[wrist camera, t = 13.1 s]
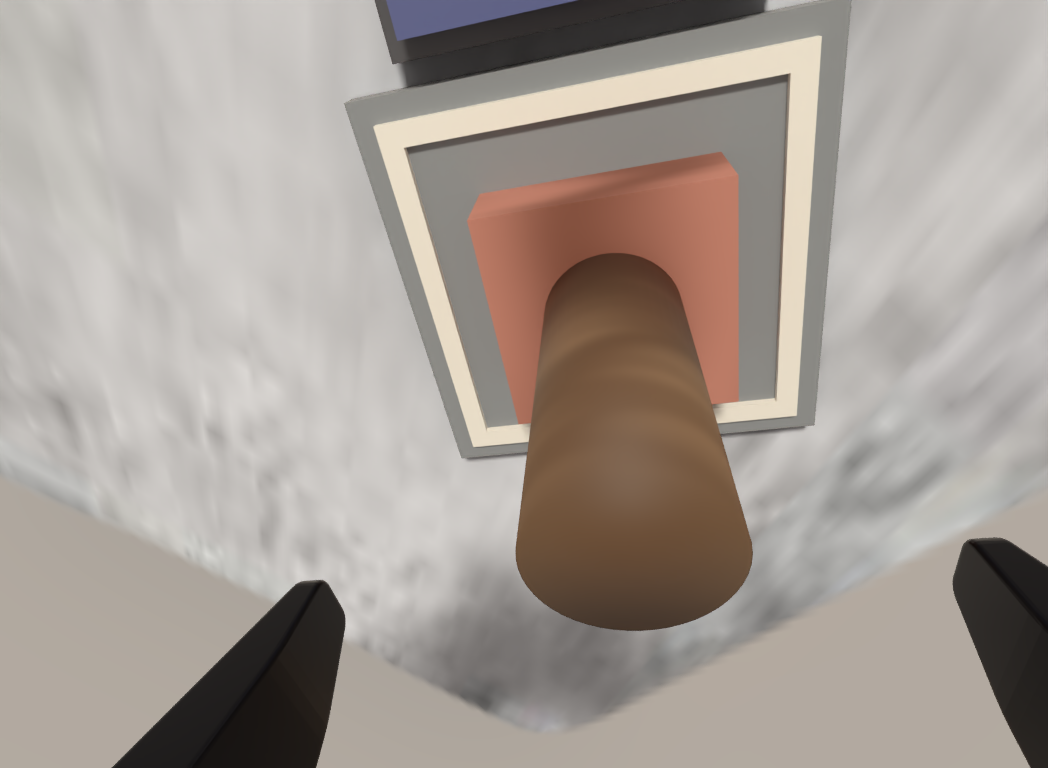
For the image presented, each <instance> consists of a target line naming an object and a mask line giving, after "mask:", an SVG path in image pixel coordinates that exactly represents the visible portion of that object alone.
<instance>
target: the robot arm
mask: <svg viewBox="0 0 1048 768" xmlns="http://www.w3.org/2000/svg"><path fill="white" fill-rule="evenodd" d="M953 591H954V594H955V598H956V601H957V603H958V605H959V608H960V610H961V613H962V615H963V618H964V620H965V623H966V625H967V628H968V630H969V633H970V635H971V638H972V640H973V643H974V645H975V648H976V650H977V652H978V655H979V658H980V660H981V662H982V665H983V667H984V670H985V672H986V675H987V677H988V680H989V682H990V685H991V687H992V690H993V692H994V695H995V697H996V699H997V702H998V704H999V706H1000V708H1001V711H1002V713H1003V715H1004V717H1005V719H1006V721H1007V723H1008V725H1009V727H1010V729H1011V731H1012V733H1013V735H1014V737H1015V739H1016V741H1017V743H1018V744H1019V746H1020V748H1021V750H1022V752H1023V754H1024V756H1025V758H1026V760H1027V762H1028V764H1029V765H1030V767H1031V768H1048V566H1046V565H1045V564H1043V563H1042V562H1040V561H1039V560H1037V559H1036V558H1034V557H1033V556H1031V555H1030V554H1028V553H1027V552H1025V551H1023V550H1022V549H1020V548H1019V547H1018V546H1016V545H1014V544H1013V543H1011V542H1010V541H1008V540H1005V539H1003V538H995V537H994V538H979V539H969V540H967V541H966V542H965V543H964V544H963V546H962V550H961V553H960V556H959V560H958V563H957V566H956V570H955V573H954V576H953ZM344 631H345V614H344V611H343V609H342V607H341V605H340V603H339V602H338V600H337V598H336V596H335V595H334V593H333V591H332V590H331V588H330V586H329V585H328V583H327V582H325V581H323V580H312V581H302V582H299V583H297V584H296V585H295V586H294V587H292V588H291V589H290V590H289V591H288V592H287V593H286V594H285V595H284V596H283V597H282V598H281V599H280V600H279V601H278V602H277V603H276V604H275V605H274V606H273V607H272V608H271V609H270V610H269V611H268V612H267V613H266V614H265V615H264V617H262V618H261V619H260V620H259V621H258V622H257V623H256V624H255V626H253V627H252V628H251V629H250V630H249V631H248V632H247V633H246V634H245V635H244V636H243V637H242V638H241V639H240V640H239V641H238V642H237V643H236V644H235V645H234V646H233V647H232V648H231V649H230V650H229V651H228V652H227V653H226V654H225V655H224V657H222V658H221V659H220V660H219V661H218V663H216V664H215V665H214V666H213V667H212V668H211V669H210V670H209V671H208V672H207V673H206V674H205V675H204V676H203V677H202V678H201V679H200V680H199V681H198V682H197V683H196V684H195V685H194V686H193V687H192V688H191V689H190V690H189V691H188V692H187V693H186V694H185V695H184V696H183V697H182V698H181V699H180V700H179V701H178V702H177V703H176V704H175V705H174V706H173V707H172V708H171V709H170V710H169V711H168V712H167V713H166V714H165V715H164V716H163V717H162V718H161V719H160V720H159V721H158V722H157V723H156V724H155V725H154V726H153V727H152V728H151V729H150V730H149V731H148V732H147V733H146V734H145V735H144V736H143V737H142V738H141V739H140V740H139V741H138V742H137V743H136V744H135V745H134V746H133V747H132V748H131V749H130V750H129V751H128V752H127V753H126V754H125V755H124V756H123V757H122V758H121V759H120V760H119V761H118V762H117V763H116V764H115V765H114V766H113V767H112V768H316V766H317V762H318V759H319V755H320V751H321V748H322V744H323V740H324V736H325V732H326V729H327V724H328V720H329V715H330V710H331V705H332V699H333V693H334V687H335V682H336V676H337V670H338V665H339V659H340V654H341V648H342V642H343V637H344Z"/></svg>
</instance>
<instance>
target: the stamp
mask: <svg viewBox="0 0 1048 768" xmlns="http://www.w3.org/2000/svg"><path fill="white" fill-rule="evenodd" d="M467 223H468V227H469V231H470V234H471V238H472V242H473V246H474V250H475V254H476V258H477V262H478V266H479V270H480V274H481V278H482V282H483V286H484V290H485V294H486V298H487V301H488V305H489V309H490V313H491V317H492V321H493V325H494V329H495V333H496V337H497V341H498V345H499V349H500V353H501V357H502V361H503V365H504V368H505V372H506V376H507V380H508V384H509V388H510V392H511V396H512V400H513V404H514V408H515V412H516V416H517V420H518V424H528V423H531V426H530V435H529V443H528V451H527V459H526V468H525V476H524V484H523V492H522V501H521V509H520V517H519V525H518V533H517V542H516V562H517V567H518V570H519V572H520V575H521V577H522V579H523V581H524V582H525V584H526V585H527V587H528V588H529V589H530V590H531V592H532V593H533V594H534V595H535V596H536V597H537V598H538V599H539V600H541V601H542V602H543V603H544V604H546V605H547V606H548V607H550V608H551V609H553V610H555V611H556V612H558V613H560V614H562V615H564V616H566V617H568V618H571V619H573V620H576V621H579V622H582V623H585V624H588V625H592V626H596V627H600V628H607V629H613V630H626V631H643V630H655V629H662V628H668V627H672V626H677V625H681V624H684V623H687V622H690V621H693V620H696V619H698V618H700V617H702V616H705V615H707V614H709V613H710V612H712V611H714V610H716V609H717V608H719V607H720V606H721V605H723V604H724V603H725V602H727V601H728V600H729V599H730V598H731V597H732V596H733V595H734V594H735V593H736V592H737V591H738V590H739V588H740V587H741V586H742V585H743V583H744V581H745V579H746V578H747V576H748V574H749V570H750V567H751V564H752V556H753V551H752V542H751V539H750V535H749V532H748V528H747V525H746V521H745V518H744V514H743V511H742V508H741V504H740V501H739V497H738V494H737V490H736V487H735V483H734V480H733V476H732V473H731V469H730V466H729V462H728V459H727V455H726V452H725V449H724V445H723V442H722V438H721V435H720V431H719V428H718V424H717V421H716V417H715V414H714V410H713V407H712V404H721V403H730V402H739V213H738V174H737V172H736V171H735V170H734V168H733V167H732V166H731V164H730V163H729V162H728V160H727V159H726V157H725V156H724V155H723V153H722V152H716V153H711V154H705V155H699V156H693V157H688V158H682V159H676V160H671V161H665V162H659V163H654V164H648V165H642V166H636V167H631V168H625V169H619V170H614V171H608V172H602V173H597V174H591V175H585V176H579V177H574V178H568V179H562V180H557V181H551V182H545V183H539V184H534V185H528V186H522V187H517V188H511V189H505V190H500V191H494V192H488V193H482V194H479V196H478V198H477V201H476V203H475V205H474V207H473V209H472V211H471V213H470V215H469V217H468V220H467Z"/></svg>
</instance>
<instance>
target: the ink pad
mask: <svg viewBox="0 0 1048 768" xmlns="http://www.w3.org/2000/svg"><path fill="white" fill-rule="evenodd" d="M679 1H683V0H375V3H376V7H377V10H378V14H379V18H380V21H381V25H382V28H383V32H384V35H385V39H386V42H387V46H388V50H389V53H390V57H391V60H392V64H397V63H401V62H406V61H410V60H415V59H419V58H424V57H428V56H433V55H438V54H442V53H447V52H451V51H456V50H460V49H465V48H469V47H474V46H478V45H483V44H488V43H492V42H497V41H501V40H506V39H510V38H515V37H519V36H524V35H529V34H533V33H538V32H542V31H547V30H551V29H556V28H560V27H565V26H569V25H574V24H579V23H583V22H588V21H592V20H597V19H601V18H606V17H610V16H615V15H620V14H624V13H629V12H633V11H638V10H642V9H647V8H651V7H656V6H661V5H665V4H670V3H674V2H679Z"/></svg>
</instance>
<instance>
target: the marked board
mask: <svg viewBox="0 0 1048 768" xmlns="http://www.w3.org/2000/svg"><path fill="white" fill-rule="evenodd" d="M850 11H851V0H819V1H814V2H809V3H804V4H800V5H795V6H790V7H785V8H781V9H776V10H771V11H767V12H762V13H757V14H752V15H748V16H743V17H738V18H733V19H729V20H724V21H719V22H715V23H710V24H705V25H700V26H696V27H691V28H686V29H681V30H677V31H672V32H667V33H662V34H658V35H653V36H648V37H644V38H639V39H634V40H629V41H625V42H620V43H615V44H610V45H606V46H601V47H596V48H592V49H587V50H582V51H577V52H573V53H568V54H563V55H558V56H554V57H549V58H544V59H540V60H535V61H530V62H525V63H521V64H516V65H511V66H506V67H502V68H497V69H492V70H488V71H483V72H478V73H473V74H469V75H464V76H459V77H454V78H450V79H445V80H440V81H436V82H431V83H426V84H421V85H417V86H412V87H407V88H402V89H398V90H393V91H388V92H384V93H379V94H374V95H369V96H365V97H360V98H355V99H351V100H350V101H348V102H346V103H344V105H345V108H346V111H347V114H348V117H349V120H350V123H351V126H352V129H353V132H354V135H355V138H356V141H357V144H358V147H359V150H360V153H361V156H362V159H363V162H364V165H365V168H366V171H367V174H368V177H369V180H370V183H371V186H372V189H373V192H374V195H375V198H376V201H377V204H378V207H379V210H380V213H381V216H382V219H383V222H384V225H385V228H386V231H387V234H388V237H389V240H390V243H391V247H392V250H393V253H394V256H395V259H396V262H397V265H398V268H399V271H400V274H401V277H402V280H403V283H404V286H405V289H406V292H407V295H408V298H409V301H410V304H411V307H412V310H413V313H414V316H415V319H416V322H417V325H418V328H419V331H420V334H421V337H422V340H423V343H424V346H425V349H426V352H427V355H428V358H429V361H430V364H431V367H432V370H433V373H434V376H435V379H436V382H437V385H438V388H439V391H440V394H441V398H442V401H443V404H444V407H445V410H446V413H447V416H448V419H449V422H450V425H451V428H452V431H453V434H454V437H455V440H456V443H457V446H458V449H459V452H460V455H461V458H471V457H481V456H492V455H503V454H513V453H524V452H527V451H528V443H529V435H530V426H531V423H528V424H518V420H517V416H516V412H515V408H514V404H513V400H512V396H511V392H510V388H509V384H508V380H507V376H506V372H505V368H504V365H503V361H502V357H501V353H500V349H499V345H498V341H497V337H496V333H495V329H494V325H493V321H492V317H491V313H490V309H489V305H488V301H487V298H486V294H485V290H484V286H483V282H482V278H481V274H480V270H479V266H478V262H477V258H476V254H475V250H474V246H473V242H472V238H471V234H470V231H469V227H468V223H467V220H468V217H469V215H470V213H471V211H472V209H473V207H474V205H475V203H476V201H477V198H478V196H479V194H482V193H488V192H494V191H500V190H505V189H511V188H517V187H522V186H528V185H534V184H539V183H545V182H551V181H557V180H562V179H568V178H574V177H579V176H585V175H591V174H597V173H602V172H608V171H614V170H619V169H625V168H631V167H636V166H642V165H648V164H654V163H659V162H665V161H671V160H676V159H682V158H688V157H693V156H699V155H705V154H711V153H716V152H722V153H723V155H724V156H725V157H726V159H727V160H728V162H729V163H730V164H731V166H732V167H733V168H734V170H735V171H736V172H737V174H738V213H739V402H730V403H721V404H712V407H713V410H714V414H715V417H716V421H717V424H718V428H719V431H720V434H725V433H736V432H747V431H757V430H768V429H779V428H789V427H800V426H810V425H814V423H815V411H816V400H817V389H818V377H819V366H820V354H821V343H822V331H823V320H824V308H825V297H826V286H827V274H828V263H829V251H830V240H831V228H832V217H833V205H834V194H835V183H836V171H837V160H838V148H839V137H840V125H841V114H842V102H843V91H844V80H845V68H846V57H847V45H848V34H849V22H850Z"/></svg>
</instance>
